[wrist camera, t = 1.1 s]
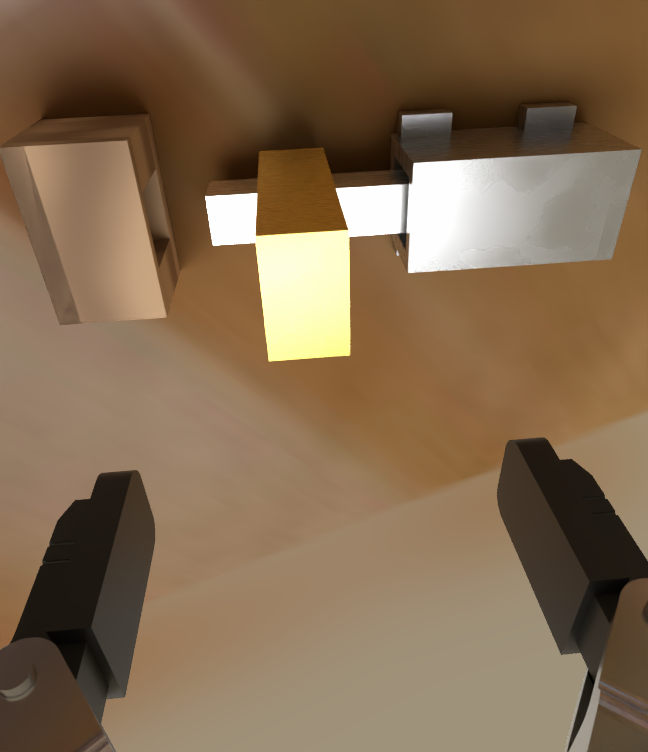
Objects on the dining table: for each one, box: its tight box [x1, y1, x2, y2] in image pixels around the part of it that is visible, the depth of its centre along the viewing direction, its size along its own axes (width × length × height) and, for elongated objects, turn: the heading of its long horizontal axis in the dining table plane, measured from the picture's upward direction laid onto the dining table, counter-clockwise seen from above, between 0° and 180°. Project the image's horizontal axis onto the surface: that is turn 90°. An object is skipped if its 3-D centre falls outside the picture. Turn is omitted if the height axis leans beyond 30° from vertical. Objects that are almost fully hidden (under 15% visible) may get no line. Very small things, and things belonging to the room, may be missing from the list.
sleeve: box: [390, 102, 642, 273], centre depth 28 cm, size 10×7×5 cm
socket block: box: [0, 114, 180, 325], centre depth 27 cm, size 5×8×5 cm, turn 2°
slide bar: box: [205, 147, 409, 361], centre depth 24 cm, size 16×5×10 cm, turn 92°
